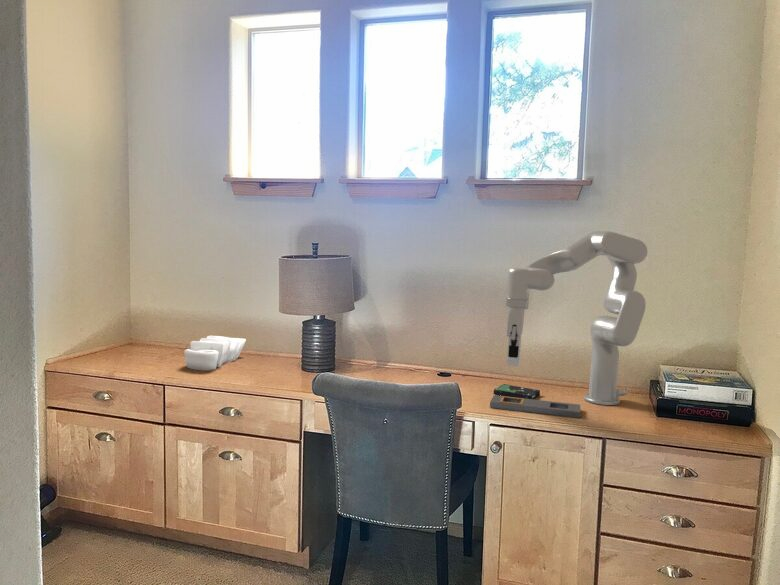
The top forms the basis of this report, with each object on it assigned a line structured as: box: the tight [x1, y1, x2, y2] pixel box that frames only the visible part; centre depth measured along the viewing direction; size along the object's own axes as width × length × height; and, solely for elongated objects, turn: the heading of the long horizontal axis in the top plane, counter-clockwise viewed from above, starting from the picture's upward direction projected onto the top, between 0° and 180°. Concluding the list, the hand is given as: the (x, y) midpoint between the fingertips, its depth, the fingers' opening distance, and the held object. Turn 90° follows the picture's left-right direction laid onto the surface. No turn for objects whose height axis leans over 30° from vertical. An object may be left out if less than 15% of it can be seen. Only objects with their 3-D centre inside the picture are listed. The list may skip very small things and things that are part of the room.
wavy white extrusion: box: [183, 334, 247, 372], centre depth 267 cm, size 35×16×10 cm, turn 167°
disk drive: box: [493, 383, 541, 400], centre depth 232 cm, size 10×3×15 cm
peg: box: [506, 335, 522, 367], centre depth 214 cm, size 4×4×10 cm
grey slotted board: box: [489, 394, 581, 419], centre depth 214 cm, size 30×10×2 cm, turn 73°
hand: (513, 355), depth 214 cm, fingers closed on peg, 4 cm apart
